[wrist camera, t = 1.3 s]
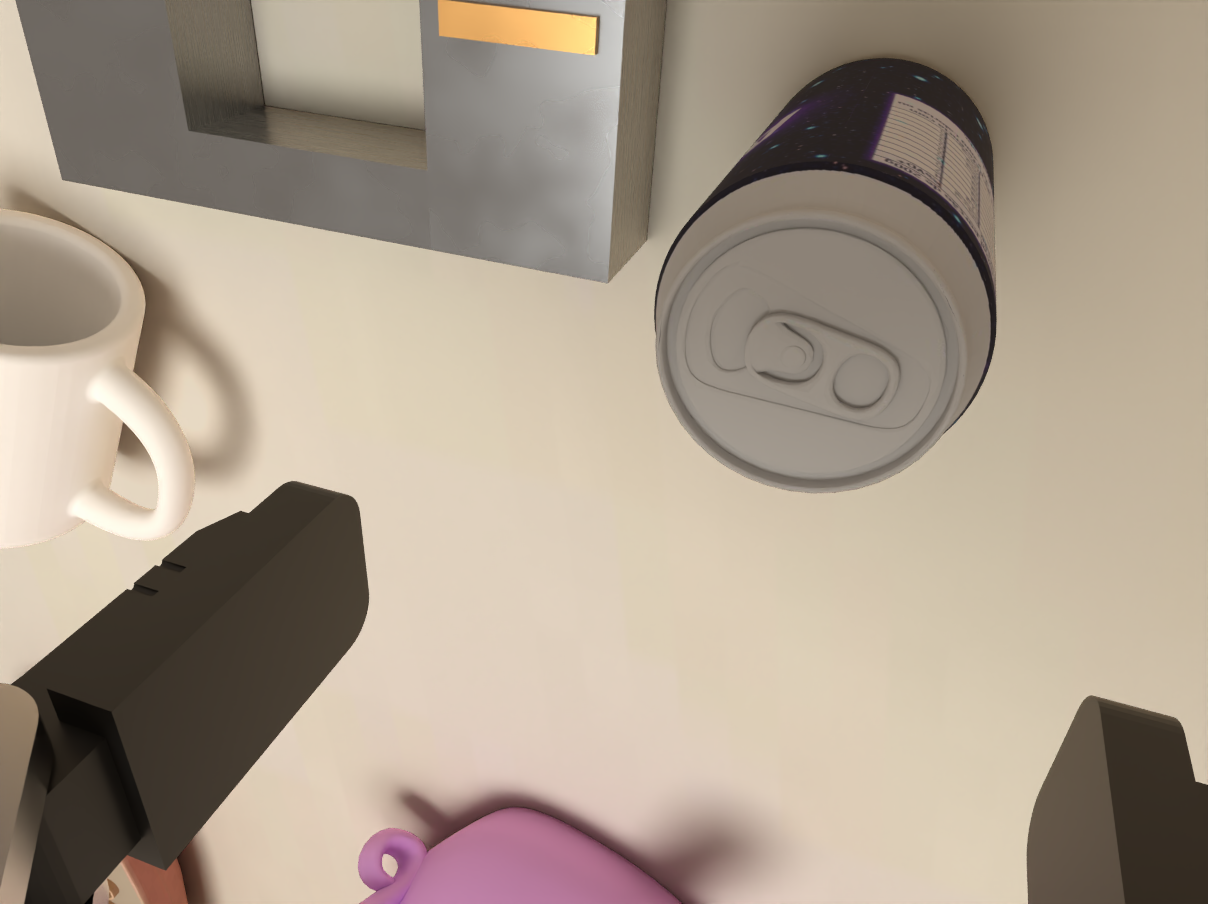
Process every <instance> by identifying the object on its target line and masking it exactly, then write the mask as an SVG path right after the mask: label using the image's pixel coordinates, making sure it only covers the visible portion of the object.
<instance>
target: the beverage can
mask: <svg viewBox="0 0 1208 904" xmlns="http://www.w3.org/2000/svg"><path fill="white" fill-rule="evenodd" d="M654 320H655V332H656V358H657V367H658V371H659V376H660V380H661V384H662V387H663V390H664V392H665V395H666V397H667V400H668V402H669V404H670V406H671V408H672V410H673V411H674V413H675V415H676V417H677V418H678V420H679V422H680V423H681V425H682V426H683V427H684V428H685V429H686V431H687V432H688V433H689V434H690V436H691V437H692V438H693V439H694V440H695V441H696V442H697V443H698V444H699V445H700V446H701V447H702V448H703V449H704V450H705V451H706V452H707V453H708V454H709V455H711V456H712V457H713V458H715V459H716V460H718V461H719V462H721V463H722V464H723V465H725V466H726V467H728V468H729V469H731V470H733V471H735V472H737V473H739V474H741V475H743V476H744V477H746V478H749V479H751V480H754V481H757V482H759V483H762V484H765V485H767V486H771V487H775V488H779V489H784V490H788V491H795V492H805V493H836V492H842V491H848V490H854V489H859V488H862V487H865V486H869V485H872V484H875V483H878V482H881V481H883V480H885V479H887V478H889V477H891V476H893V475H895V474H897V473H900V472H901V471H902V470H904V469H905V468H907V467H908V466H910V465H911V464H913V463H914V462H916V461H917V460H919V459H920V458H921V457H922V456H923V455H924V454H925V453H926V452H927V451H928V450H929V449H930V448H931V447H932V446H933V445H934V444H935V443H936V442H937V441H938V440H939V439H940V437H941V436H942V435H943V434H944V433H945V432H946V431H947V430H948V429H949V428H950V427H952V426H953V425H954V424H955V423H956V421H957V420H958V419H959V418H960V417H961V416H962V415H963V413H964V412H965V411H966V410H967V408H968V407H969V406H970V404H971V403H972V401H973V400H974V398H975V396H976V395H977V393H978V391H979V389H980V387H981V385H982V383H983V381H984V379H985V376H986V374H987V372H988V369H989V366H990V362H991V359H992V355H993V350H994V346H995V337H996V274H995V226H994V178H993V153H992V146H991V141H990V137H989V134H988V131H987V128H986V125H985V123H984V121H983V118H982V117H981V115H980V113H979V111H978V109H977V108H976V106H975V105H974V103H973V102H972V101H971V99H970V98H969V97H968V96H967V95H966V94H965V93H964V91H963V90H962V89H961V88H960V87H958V86H957V85H956V84H955V83H954V82H952V81H951V80H950V79H948V78H947V77H945V76H944V75H942V74H941V73H939V72H937V71H935V70H933V69H931V68H929V67H926V66H924V65H921V64H918V63H914V62H911V61H906V60H900V59H889V58H878V59H867V60H861V61H856V62H852V63H849V64H845V65H842V66H840V67H837V68H835V69H833V70H830V71H828V72H826V73H824V74H823V75H821V76H819V77H818V78H816V79H815V80H813V81H812V82H810V83H809V84H808V85H806V86H805V87H804V88H803V89H802V90H800V91H799V92H798V93H797V94H796V95H795V96H794V97H793V98H792V99H791V100H790V102H789V103H788V104H787V105H786V106H785V107H784V109H783V110H782V111H781V112H780V113H779V115H778V116H777V117H776V118H775V119H774V120H773V122H772V123H771V124H770V125H769V126H768V128H767V129H766V130H765V131H764V132H763V133H762V135H761V136H760V137H759V138H758V139H757V140H756V142H755V143H754V144H753V145H752V146H751V148H750V149H749V150H748V151H747V152H746V153H745V155H744V156H743V157H742V158H741V159H740V161H739V162H738V163H737V164H736V165H735V166H734V168H733V169H732V170H731V171H730V172H729V174H728V175H727V176H726V177H725V178H724V179H723V181H722V182H721V183H720V184H719V185H718V187H717V188H716V189H715V190H714V191H713V192H712V194H711V195H710V196H709V197H708V198H707V200H706V201H705V202H704V203H703V204H702V205H701V207H700V208H699V209H698V210H697V211H696V213H695V214H694V215H693V216H692V217H691V218H690V220H689V221H688V222H687V223H686V225H685V226H684V227H683V228H682V230H681V231H680V233H679V234H678V236H677V237H676V239H675V241H674V243H673V244H672V246H671V248H670V250H669V252H668V254H667V256H666V259H665V261H664V264H663V267H662V269H661V272H660V276H659V280H658V284H657V290H656V296H655V309H654Z"/></svg>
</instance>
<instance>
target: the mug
mask: <svg viewBox="0 0 1208 904" xmlns="http://www.w3.org/2000/svg"><path fill="white" fill-rule="evenodd" d="M145 305H146V304H145V295H144V290H143V288H142V285H141V282H140V280H139V279H138V277H137V275H136V274H135V272H134V270H133V269H132V268H131V267H130V265H129V264H128V263H127V262H126V261H125V260H124V259H123V258H122V257H121V256H120V255H119V254H118V253H117V252H115V251H114V250H113V249H112V248H110V247H109V246H108V245H106V244H105V243H103V242H102V241H100V240H98V239H97V238H95V237H93V236H92V235H90V234H88V233H86V232H84V231H82V230H80V229H77V228H75V227H73V226H70V225H68V224H65V223H63V222H60V221H57V220H54V219H51V218H47V217H44V216H40V215H36V214H31V213H27V212H21V211H16V210H8V209H0V549H3V548H15V547H23V546H28V545H33V544H38V543H41V542H45V541H48V540H51V539H54V538H57V537H59V536H61V535H64V534H66V533H68V532H69V531H71V530H73V529H75V528H76V527H78V526H80V525H81V524H82V523H84V522H85V521H86V522H88V523H90V524H92V525H94V526H96V527H98V528H100V529H102V530H105V531H107V532H110V533H112V534H115V535H118V536H122V537H125V538H129V539H134V540H156V539H160V538H163V537H166V536H168V535H170V534H171V533H173V532H174V531H176V530H177V529H178V528H179V527H180V526H181V524H182V523H183V522H184V520H185V519H186V517H187V515H188V513H189V510H190V508H191V505H192V501H193V496H194V488H195V472H194V464H193V459H192V455H191V451H190V448H189V445H188V443H187V440H186V438H185V435H184V433H183V431H182V429H181V427H180V425H179V424H178V422H177V420H176V419H175V417H174V415H173V414H172V412H171V411H170V410H169V408H168V407H167V406H166V404H165V403H164V402H163V400H162V399H161V398H160V397H159V396H158V395H157V394H156V393H155V391H154V390H153V389H152V388H151V387H150V386H149V385H148V384H147V383H146V382H144V381H143V380H142V379H141V378H140V377H139V376H138V375H136V374H135V373H134V372H133V369H134V364H135V359H136V354H137V349H138V344H139V339H140V334H141V329H142V324H143V319H144V314H145ZM123 422H124V423H125V424H126V425H127V426H128V427H129V428H130V429H131V430H132V431H133V432H134V434H135V435H136V436H137V437H138V438H139V440H140V441H141V442H142V444H143V445H144V447H145V448H146V450H147V451H148V453H149V455H150V457H151V459H152V461H153V463H154V466H155V469H156V473H157V477H158V503H157V507H156V509H149V508H145V507H142V506H139V505H137V504H135V503H133V502H131V501H129V500H127V499H125V498H124V497H122V496H120V495H118V494H117V493H115V492H114V491H112V490H110V485H111V480H112V475H113V470H114V465H115V460H116V455H117V450H118V445H119V440H120V435H121V430H122V425H123Z"/></svg>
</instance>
